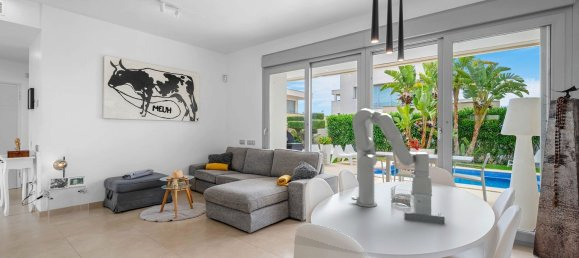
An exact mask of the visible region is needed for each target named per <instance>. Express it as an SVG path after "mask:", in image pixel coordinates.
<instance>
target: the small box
mask: <svg viewBox="0 0 579 258" xmlns="http://www.w3.org/2000/svg"><path fill="white" fill-rule="evenodd" d="M413 213H418V214H428V215H432V196H430V195H427V194H414V195H413Z"/></svg>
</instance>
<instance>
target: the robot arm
mask: <svg viewBox="0 0 579 258" xmlns="http://www.w3.org/2000/svg"><path fill="white" fill-rule="evenodd" d="M367 123H369V124H371V125H375V126H378V127H379V129H380V130H381V131H382V133H383V135H384V137H385V138H386V140H387V142H388V145H390V147H391V149H392V151H393V153H394V155H395V156H396V158H397V159H398V162H400V164H401V165H402V166H406V167H407V166H410V165H412V164H414V165H413V166H414V168H413V169H414V170H413V171H411V175H413V177H412V181H411V195H412V196H414V194H427V195H430V196H431V197H432V196H433V194H432V193H433V190H432V189H433V188H432V178H431V176H430V156H429V153H427V152H423V151H422V152H421V151H420V152H415V151H414V152H413V151H410V150H409V149H408V147H407V145H406V144H405V141H404V138H403V135H402V133H401V131H400V130H399V129H398V127H397V126H396V123H395V122H394V119H393V117H392V115H390V114H388V113H384V112H380V111H376V110H373V109H369V108H362V109H360V110H358V111H356V113H355V114H354V115H353V117H352V130H353V135H354V140H355V141H354V142H355V146H356V147H355V148H356V149H357V151H359V152H360V156H359V157H358V160H357V168H358V169H357V170H358V196H353V195H352V196H351V200H353V201H355V203H356V205H357V206H360V207H366V208H372V207H377V205H378V202H376V201H375V166H376V165H377V162H378V157H377V153H376V147H375V143H374V141H373V139H372V138H371V137H370V136H369V131H368V127H367Z"/></svg>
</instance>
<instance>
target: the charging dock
mask: <svg viewBox="0 0 579 258" xmlns="http://www.w3.org/2000/svg"><path fill="white" fill-rule="evenodd" d="M403 212H404V221H405V220H406V221H407V220H409V221H415V222H423V223H424V222H425V223H434V224H442V225H443V224H445V218H446V217H445V216H444V215H442V213H440V212H438V213H437V215H436V214H435V215H434V214H431V215H428V214H418V213H415V212H408V211H407V209H404V210H403Z"/></svg>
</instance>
